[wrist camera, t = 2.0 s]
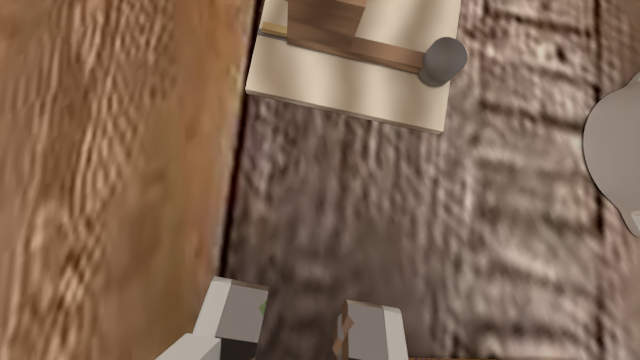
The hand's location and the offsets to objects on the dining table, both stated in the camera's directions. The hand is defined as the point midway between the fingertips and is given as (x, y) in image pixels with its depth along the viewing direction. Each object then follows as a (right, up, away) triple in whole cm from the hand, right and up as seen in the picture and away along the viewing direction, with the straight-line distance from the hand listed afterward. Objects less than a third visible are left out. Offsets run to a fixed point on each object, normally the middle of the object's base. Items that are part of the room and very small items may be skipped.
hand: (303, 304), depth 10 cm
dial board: (+5, +20, +28) cm, 35 cm away
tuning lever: (+4, +16, +26) cm, 31 cm away
